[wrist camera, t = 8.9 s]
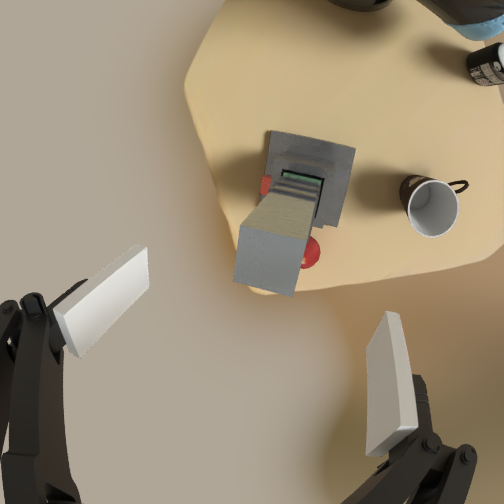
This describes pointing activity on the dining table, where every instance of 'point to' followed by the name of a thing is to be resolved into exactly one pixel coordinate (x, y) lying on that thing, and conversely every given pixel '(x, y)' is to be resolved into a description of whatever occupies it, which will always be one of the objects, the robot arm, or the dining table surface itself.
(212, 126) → the dining table surface
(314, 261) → the onion
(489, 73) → the beverage can
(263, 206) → the column
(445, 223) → the coffee mug
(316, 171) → the stand
